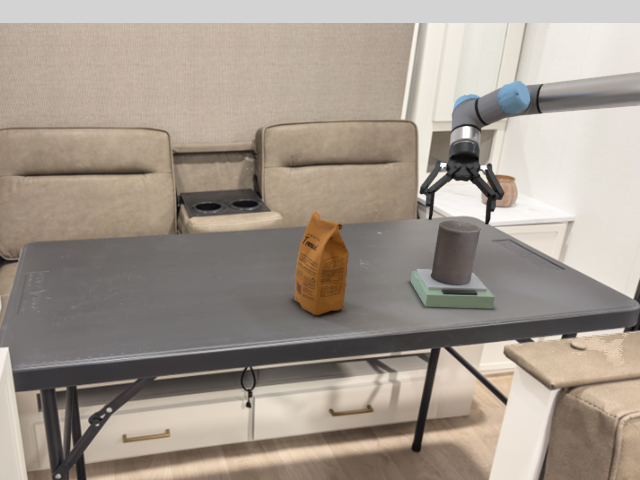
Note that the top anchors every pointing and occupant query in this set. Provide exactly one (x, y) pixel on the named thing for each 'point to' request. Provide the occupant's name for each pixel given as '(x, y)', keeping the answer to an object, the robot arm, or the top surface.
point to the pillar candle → (455, 252)
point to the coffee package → (321, 267)
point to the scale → (451, 292)
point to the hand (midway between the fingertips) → (458, 219)
